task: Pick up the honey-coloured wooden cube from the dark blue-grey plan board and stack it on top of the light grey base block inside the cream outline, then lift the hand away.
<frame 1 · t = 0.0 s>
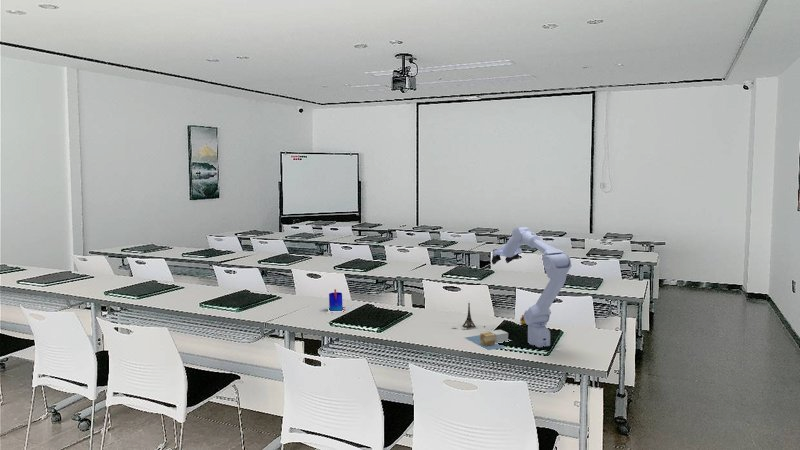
hand: (499, 261, 266), 32 cm above the table, tool tilted 50°, fingers open, 7 cm apart
base block: (498, 339, 249), point 1 cm above the table, touching plan board
wooden cube: (487, 344, 244), point 1 cm above the table, touching plan board
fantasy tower: (336, 311, 312), on the table
eiffel tower figurine: (468, 328, 274), on the table
plan board: (491, 343, 248), on the table
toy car: (530, 325, 277), on the table
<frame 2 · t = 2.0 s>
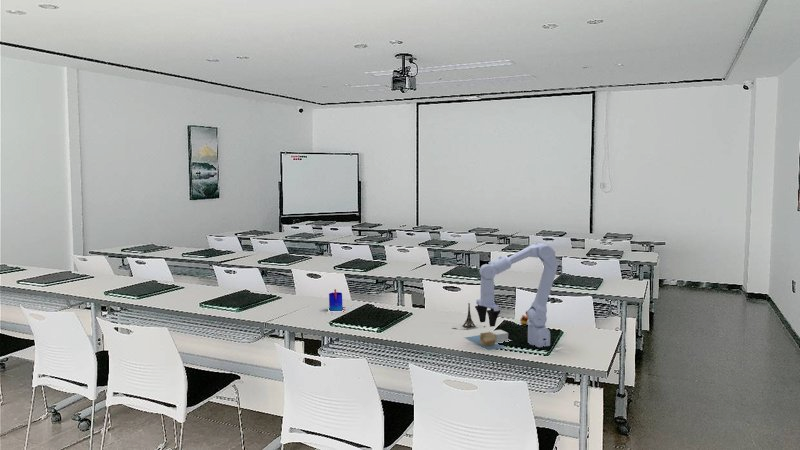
hand: (487, 324, 243), 10 cm above the table, tool pointing down, fingers open, 7 cm apart
nothing on the table moved.
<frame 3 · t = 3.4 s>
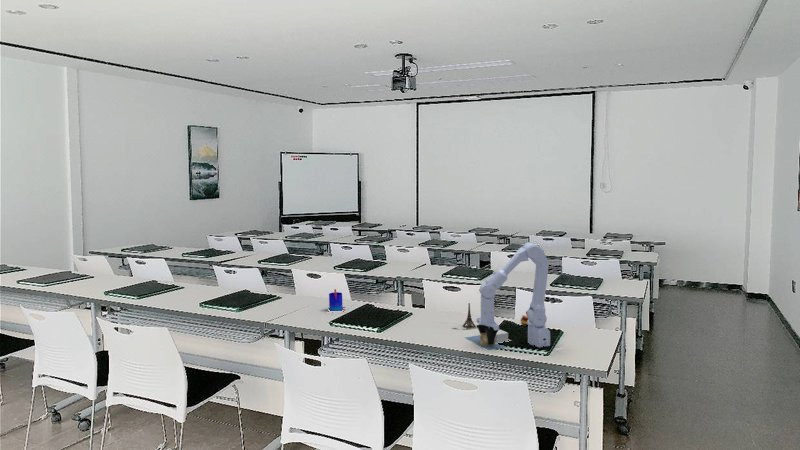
hand: (487, 342, 243), 2 cm above the table, tool pointing down, fingers closed on wooden cube, 4 cm apart
wooden cube: (487, 344, 244), point 1 cm above the table, touching gripper, plan board
everything else where it was.
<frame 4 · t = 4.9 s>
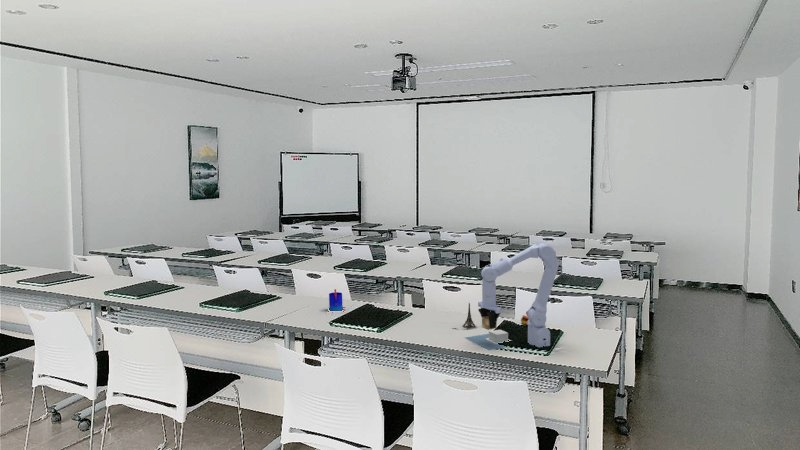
hand: (489, 326, 244), 9 cm above the table, tool pointing down, fingers closed on wooden cube, 4 cm apart
wooden cube: (489, 327, 244), point 8 cm above the table, touching gripper
everything else where it was.
when the fingers open (7 cm above the table, at t = 6.3 s): wooden cube drops 1 cm, resting on base block.
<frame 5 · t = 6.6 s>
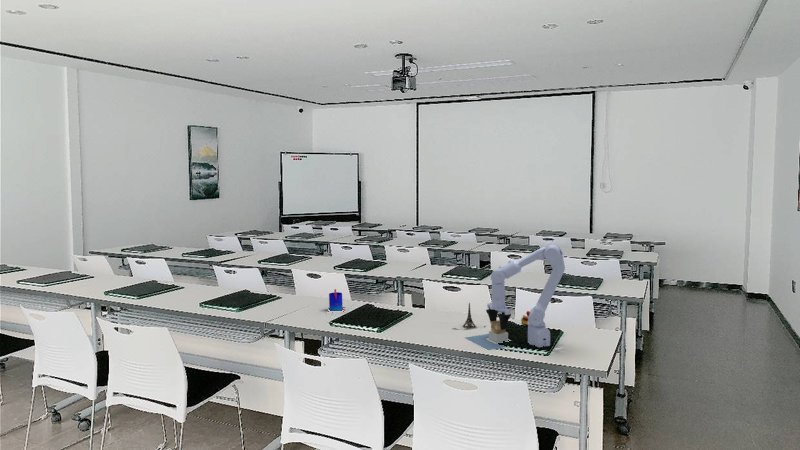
hand: (498, 327, 249), 7 cm above the table, tool pointing down, fingers open, 7 cm apart
base block: (498, 339, 249), point 1 cm above the table, touching plan board, wooden cube
wooden cube: (498, 332, 249), point 4 cm above the table, touching base block
everything else where it was.
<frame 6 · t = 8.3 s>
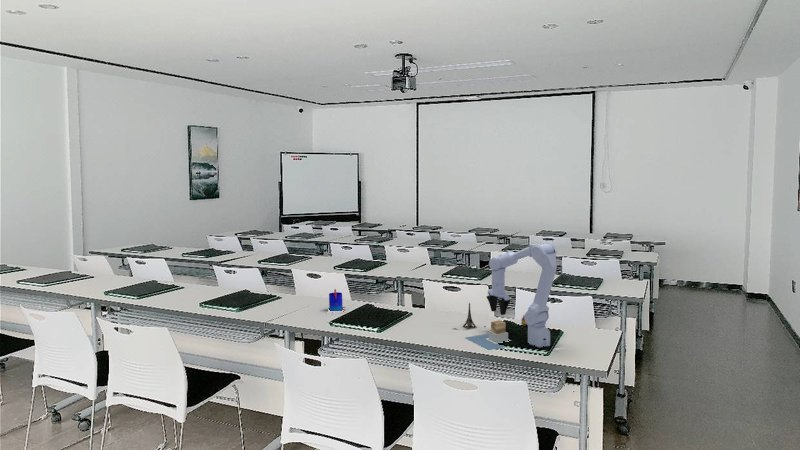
hand: (498, 312, 259), 10 cm above the table, tool pointing down, fingers open, 7 cm apart
nothing on the table moved.
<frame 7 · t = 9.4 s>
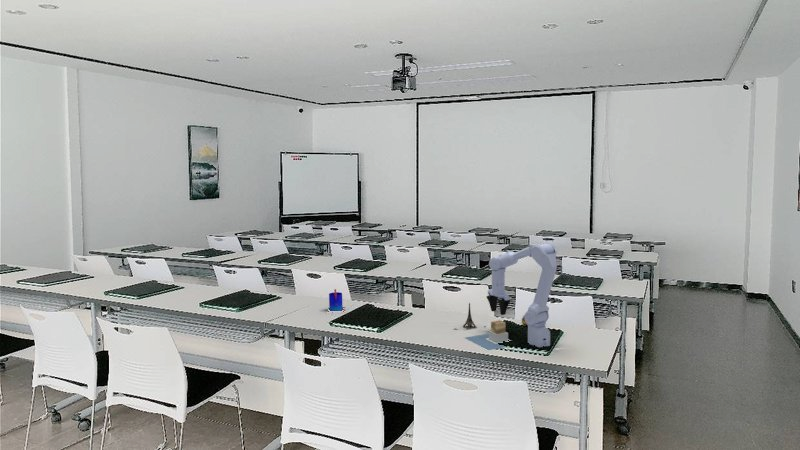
hand: (498, 312, 259), 10 cm above the table, tool pointing down, fingers open, 7 cm apart
nothing on the table moved.
at the end: wooden cube 0.1 cm off-centre on the base block, point 3.5 cm above the base block's base; wooden cube tilted 0°; the gripper is holding nothing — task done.
